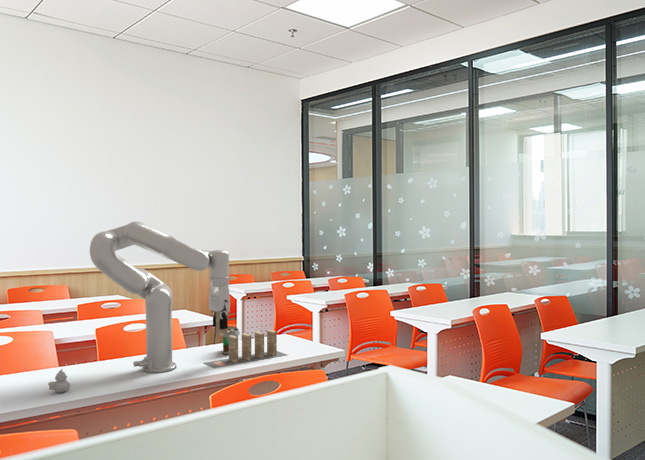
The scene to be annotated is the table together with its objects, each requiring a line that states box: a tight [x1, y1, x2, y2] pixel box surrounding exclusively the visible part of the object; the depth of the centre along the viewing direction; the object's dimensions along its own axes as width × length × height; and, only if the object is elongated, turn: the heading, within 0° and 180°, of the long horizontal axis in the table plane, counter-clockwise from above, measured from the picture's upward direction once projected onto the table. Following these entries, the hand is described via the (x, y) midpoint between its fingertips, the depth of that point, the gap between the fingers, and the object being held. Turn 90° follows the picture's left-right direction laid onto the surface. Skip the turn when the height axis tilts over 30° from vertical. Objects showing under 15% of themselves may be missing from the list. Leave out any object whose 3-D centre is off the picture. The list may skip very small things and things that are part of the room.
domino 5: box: [266, 329, 278, 356], centre depth 230 cm, size 2×5×10 cm, turn 37°
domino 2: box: [228, 335, 239, 363], centre depth 219 cm, size 2×5×10 cm, turn 37°
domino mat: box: [202, 350, 288, 369], centre depth 223 cm, size 34×10×1 cm, turn 127°
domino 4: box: [254, 331, 265, 358], centre depth 226 cm, size 2×5×10 cm, turn 37°
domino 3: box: [241, 332, 252, 360], centre depth 223 cm, size 2×5×10 cm, turn 37°
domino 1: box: [215, 310, 226, 337], centre depth 215 cm, size 2×5×10 cm, turn 37°
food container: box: [222, 326, 241, 356], centre depth 235 cm, size 12×6×10 cm, turn 179°
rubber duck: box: [47, 368, 71, 394], centre depth 181 cm, size 5×7×8 cm
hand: (220, 327), depth 215 cm, fingers closed on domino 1, 4 cm apart
